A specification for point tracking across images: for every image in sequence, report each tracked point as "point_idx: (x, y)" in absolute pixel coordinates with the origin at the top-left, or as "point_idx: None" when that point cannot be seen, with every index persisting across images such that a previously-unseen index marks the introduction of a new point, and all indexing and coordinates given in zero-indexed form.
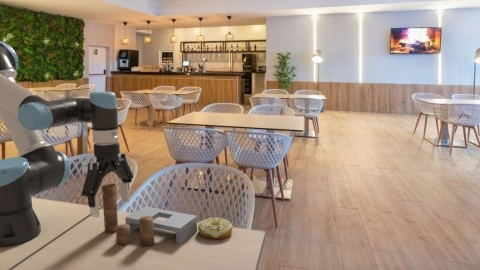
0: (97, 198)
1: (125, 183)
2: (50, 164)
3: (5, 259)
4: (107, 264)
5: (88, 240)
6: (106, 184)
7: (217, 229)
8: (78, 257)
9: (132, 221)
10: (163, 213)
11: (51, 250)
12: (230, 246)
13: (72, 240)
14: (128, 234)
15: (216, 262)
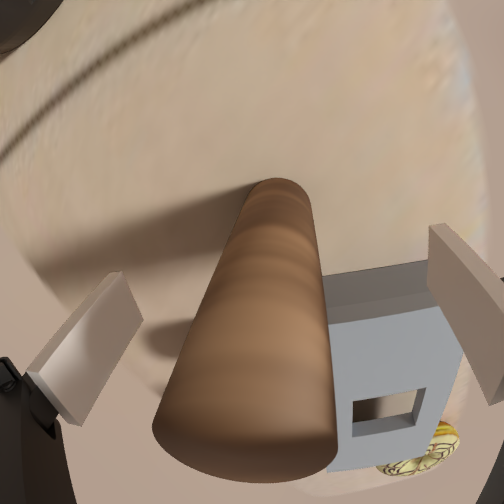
0: (84, 411)
1: (492, 394)
2: None
3: None
4: (132, 370)
5: (149, 209)
6: (253, 418)
7: (388, 474)
8: (83, 287)
9: None
10: (422, 398)
11: (37, 175)
12: (362, 473)
13: (106, 155)
14: None
15: (294, 480)
